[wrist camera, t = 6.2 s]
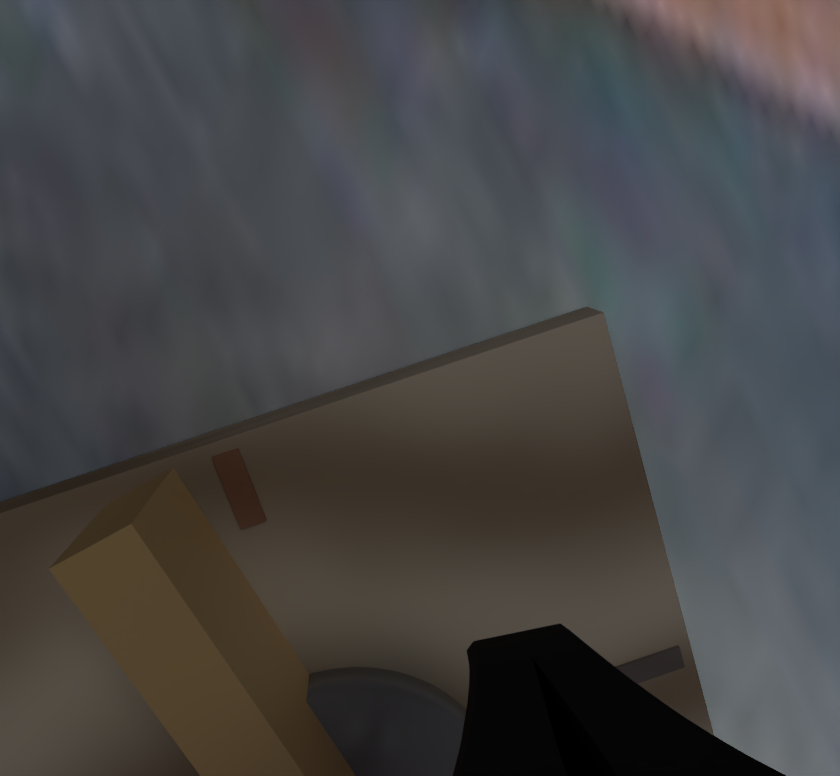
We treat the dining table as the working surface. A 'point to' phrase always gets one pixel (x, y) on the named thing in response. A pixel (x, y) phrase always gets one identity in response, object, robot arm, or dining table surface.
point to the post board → (373, 542)
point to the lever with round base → (238, 655)
